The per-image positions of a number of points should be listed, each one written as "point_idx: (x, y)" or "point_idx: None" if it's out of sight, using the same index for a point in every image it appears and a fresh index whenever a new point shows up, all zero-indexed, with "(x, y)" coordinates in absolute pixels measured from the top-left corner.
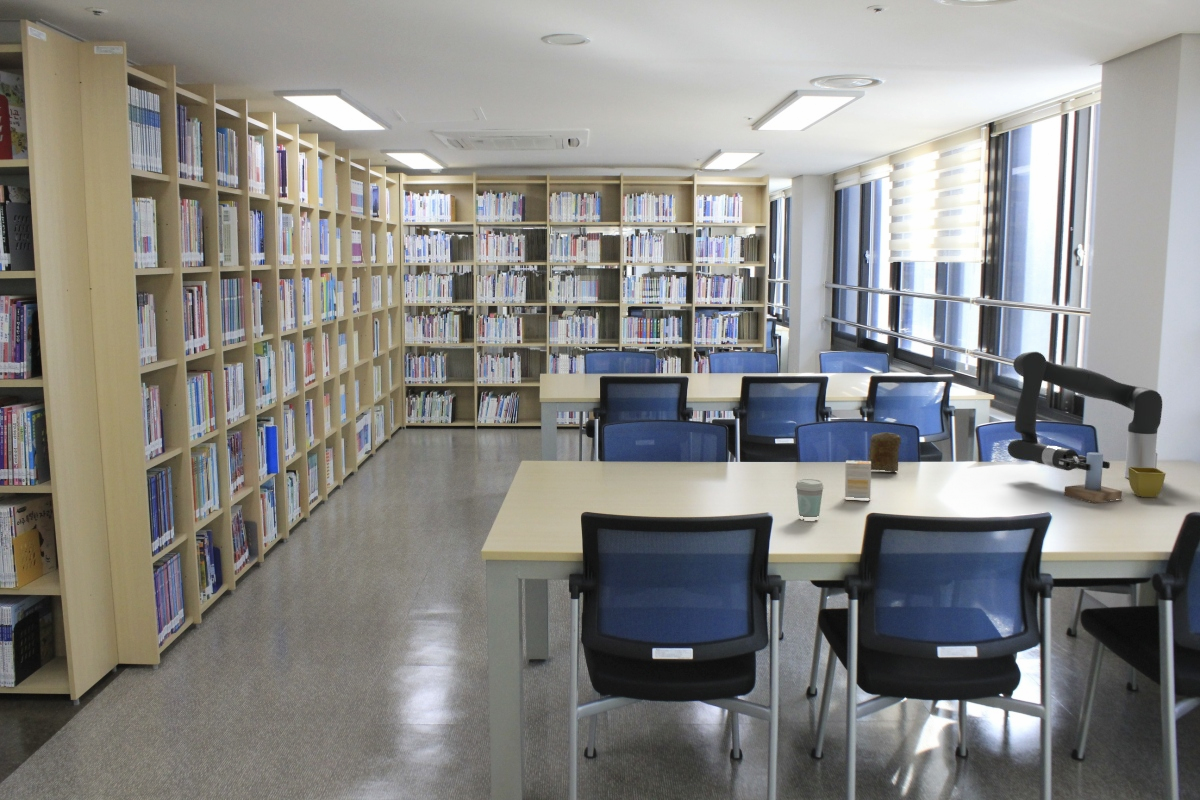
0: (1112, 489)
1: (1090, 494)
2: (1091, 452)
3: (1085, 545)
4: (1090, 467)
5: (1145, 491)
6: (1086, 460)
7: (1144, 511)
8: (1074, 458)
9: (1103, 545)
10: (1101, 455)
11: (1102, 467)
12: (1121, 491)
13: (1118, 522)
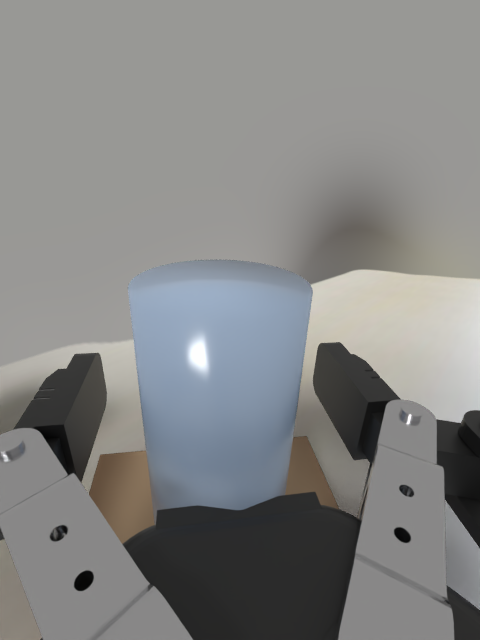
0: (108, 497)
1: (315, 464)
2: (198, 314)
3: (470, 286)
4: (315, 363)
5: None
6: (181, 514)
7: None
8: (437, 500)
9: (439, 283)
10: (211, 264)
11: (92, 442)
12: (104, 456)
13: (350, 327)
